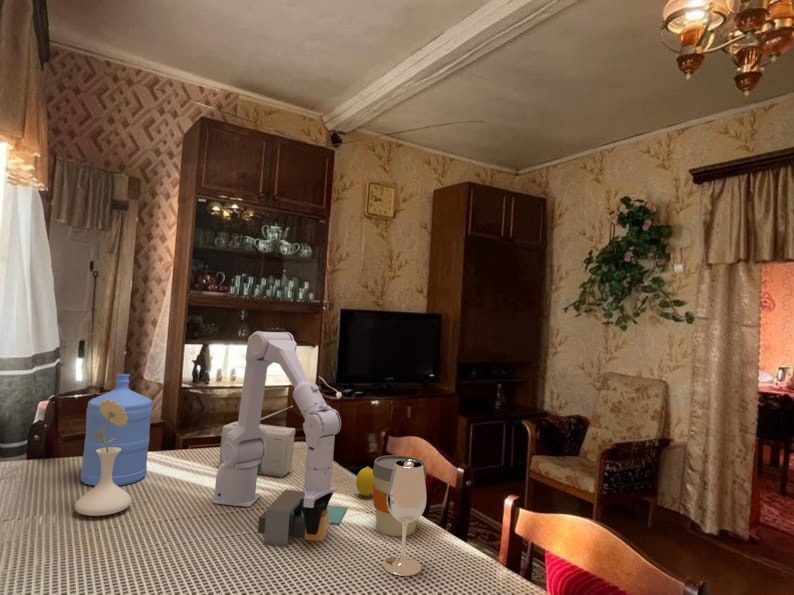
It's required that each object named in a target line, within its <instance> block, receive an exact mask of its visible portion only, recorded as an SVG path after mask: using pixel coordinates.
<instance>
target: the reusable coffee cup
mask: <svg viewBox="0 0 794 595" xmlns="http://www.w3.org/2000/svg"><path fill="white" fill-rule="evenodd" d="M398 460H414V461H418V462H421V463H422V464H423V470H424V477H425V480H426V479H427V464H426V462H425V461H424V460H422V459H419V458H417V457H413V456H406V455H398V454H396V455H395V454H394V455H393V454H392V455H382V456H379V457H377V458H375V459H374V463H373V468H372V470H373V475H374V484H373V493H372V496H373V497H372V498H373V499H372V500H373V506H374V508H375V519H376V520H375V522H376V529H377V530H378V531H379V532H380V533H382V534H384V535H386V536H390V537H391V536H392V537H402V523H401V522H399V521H397V520H396V519H395V518H394V517H393V516H392V515H391V514H390V512H389V510H388V507H387V492H388V487H389V482H390V478H391V475H392V471H393V468H394V464H395V462H396V461H398ZM417 522H418V519H417V520H415V521H413V522H411V523H408V526H407V530H406V537H407V536H411V535H412V534H413V533H414V532H416V528H417Z"/></svg>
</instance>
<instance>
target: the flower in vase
mask: <svg viewBox="0 0 794 595" xmlns="http://www.w3.org/2000/svg"><path fill="white" fill-rule="evenodd" d="M101 402H102V403H101ZM101 402H100V411H101V412H102V413H103V415H104V416H105V417H106V419H107V421H106V423H105V425H104V428H103V431H102V434H101V433H100V432H98V431H97V433H96V435H95V436H94V437H96V438H99V439H100V440H102V441H103V440H104V444H105V448H100V449H98V450H96V452H97V453H98V455H99V456H100V459H101V478H100V481H99V483H98V484H97V485H96V486H93V488H91V489H90V490H88V491H87V492H86V493H85V494H83V495H82V496H81V497H80V498H79V499H77V501H76V502H75V505H74V509H75V511H76V512H77V513H78V514H81V515H84V516H92V517H99V516H108V515H112V514H116V513H119V512H122V511H124V510H125V509H128V507H130V505H131V504H132V502H133V500H132V499H133V498H132V496H131V495H130V494H129V493H128V492H127V491H125V490H124V489H122V487H121V486H117V485H115V484H114V482H113V480H112V470H113V465H114V461H115V458H116V456H117V455H118V453H119V452H120V451H121V448H117V447H107V443H109V442H111V441H113V440H115V439H116V438H114V439H112V440H110V441H108V442H107V443H106V441H105V438H104V430H105V427H106V425H107V423H108V421H110V422H111V423H114V424H115V425H116V426H120V427H121V426H124V425H127V420H128V418H127V414H126V413H125V412H124V411H125V409H124V408H122V407H121V406H120V405H119V404H117V403H116V401H115V400H113V401H112V402H111V401H110V399H105V401H101ZM120 407H121V408H120ZM118 437H119V436H118ZM118 437H117V438H118Z"/></svg>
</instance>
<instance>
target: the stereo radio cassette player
mask: <svg viewBox="0 0 794 595" xmlns="http://www.w3.org/2000/svg"><path fill="white" fill-rule="evenodd" d="M293 407H294V406H293V405H290V407H287V408H284V409H281V410H278V411H276V412H274V413H271V414H269V415H266V416H264V417H261V418H260V421H262V420H264V419H267V418H270V417H272V416H274V415H277V414H280V413H281V412H284V411H285V410H288V409H289V408H293ZM237 425H238V421H233V422H230V423H228V424H225V425H223V426H222V431H221V439H220V440H221V441H220V452H219V453H220V454H219V466H220V465H221V464H222V463H224V461H223V459H222V455H221V451H222V447H223V444H224V442H225V440H226V434H227V433H228V432H229V431H231V430H232V429H233V428H234V427H236V426H237ZM259 428H260V429H261V430H263V431H264V432H265V434H266V438H265V442H266V454H265V456H264V458H263V459H262V460H261V463H260V464H258V469H257V474H260V475H261V474H262V475H267V476H274V477H279V478H282V477H284V476H285V475H286V474H288V473H289V472H290V471H291V470H292V468H293V459H294V457H293V456H294V446H295V435H296V428H295V427H286V426H279V425H270V424H262V423H260V426H259Z"/></svg>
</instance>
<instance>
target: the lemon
mask: <svg viewBox="0 0 794 595" xmlns="http://www.w3.org/2000/svg"><path fill="white" fill-rule="evenodd" d="M355 483H356V484H355V485H356V489H357V491H358V492H359V493H360V494H361V495H363V497H365V498H366V497H368V496H369V495H371V494H373V484H374V475H373V468H371V467H369V466H366V467H363V468H362V469H360V471H359V472H358V473H357V476H356V482H355Z"/></svg>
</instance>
